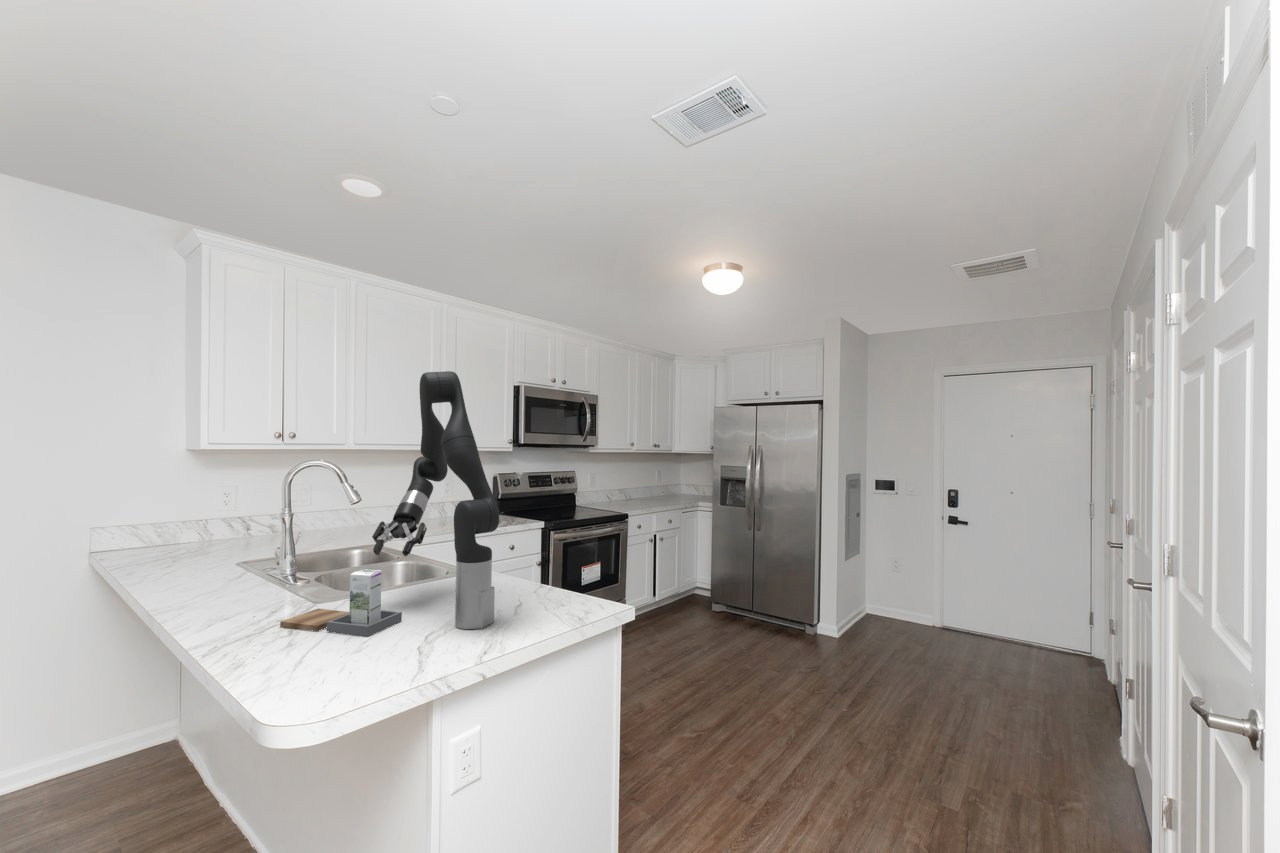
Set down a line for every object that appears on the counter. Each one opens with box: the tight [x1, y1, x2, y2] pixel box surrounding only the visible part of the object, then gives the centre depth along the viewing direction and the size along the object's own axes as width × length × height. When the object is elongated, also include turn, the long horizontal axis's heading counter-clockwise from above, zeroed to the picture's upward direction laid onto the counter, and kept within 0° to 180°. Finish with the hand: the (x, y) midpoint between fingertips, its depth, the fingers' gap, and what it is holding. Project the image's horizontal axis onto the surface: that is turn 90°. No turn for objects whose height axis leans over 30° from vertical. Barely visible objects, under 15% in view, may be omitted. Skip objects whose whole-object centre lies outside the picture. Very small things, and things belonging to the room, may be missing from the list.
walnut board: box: [279, 608, 350, 632], centre depth 151 cm, size 12×12×2 cm
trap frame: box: [325, 609, 403, 638], centre depth 148 cm, size 13×13×2 cm
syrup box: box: [349, 569, 383, 625], centre depth 148 cm, size 6×6×14 cm
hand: (390, 554), depth 159 cm, fingers open, 8 cm apart
